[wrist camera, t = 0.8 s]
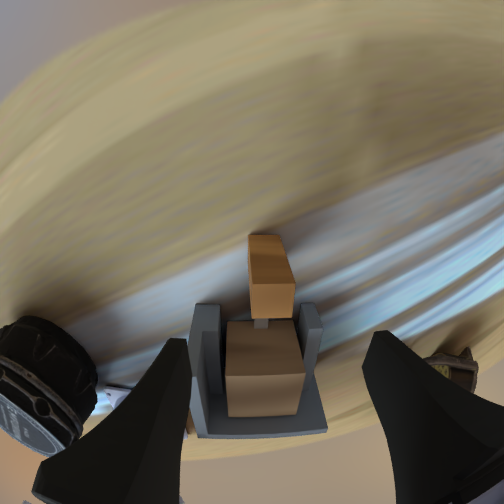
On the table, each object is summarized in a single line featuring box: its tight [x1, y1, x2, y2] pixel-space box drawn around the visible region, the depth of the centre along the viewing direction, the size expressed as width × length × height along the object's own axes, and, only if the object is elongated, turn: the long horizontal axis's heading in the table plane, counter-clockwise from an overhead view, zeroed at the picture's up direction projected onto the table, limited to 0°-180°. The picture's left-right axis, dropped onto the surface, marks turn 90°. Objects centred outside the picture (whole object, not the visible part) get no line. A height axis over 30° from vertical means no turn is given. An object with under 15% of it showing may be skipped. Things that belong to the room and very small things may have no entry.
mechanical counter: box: [423, 346, 479, 394], centre depth 23 cm, size 7×13×10 cm
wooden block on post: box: [225, 235, 306, 417], centre depth 19 cm, size 12×5×6 cm, turn 179°
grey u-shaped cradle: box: [187, 303, 328, 439], centre depth 20 cm, size 8×10×7 cm
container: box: [0, 316, 98, 457], centre depth 19 cm, size 13×13×10 cm
